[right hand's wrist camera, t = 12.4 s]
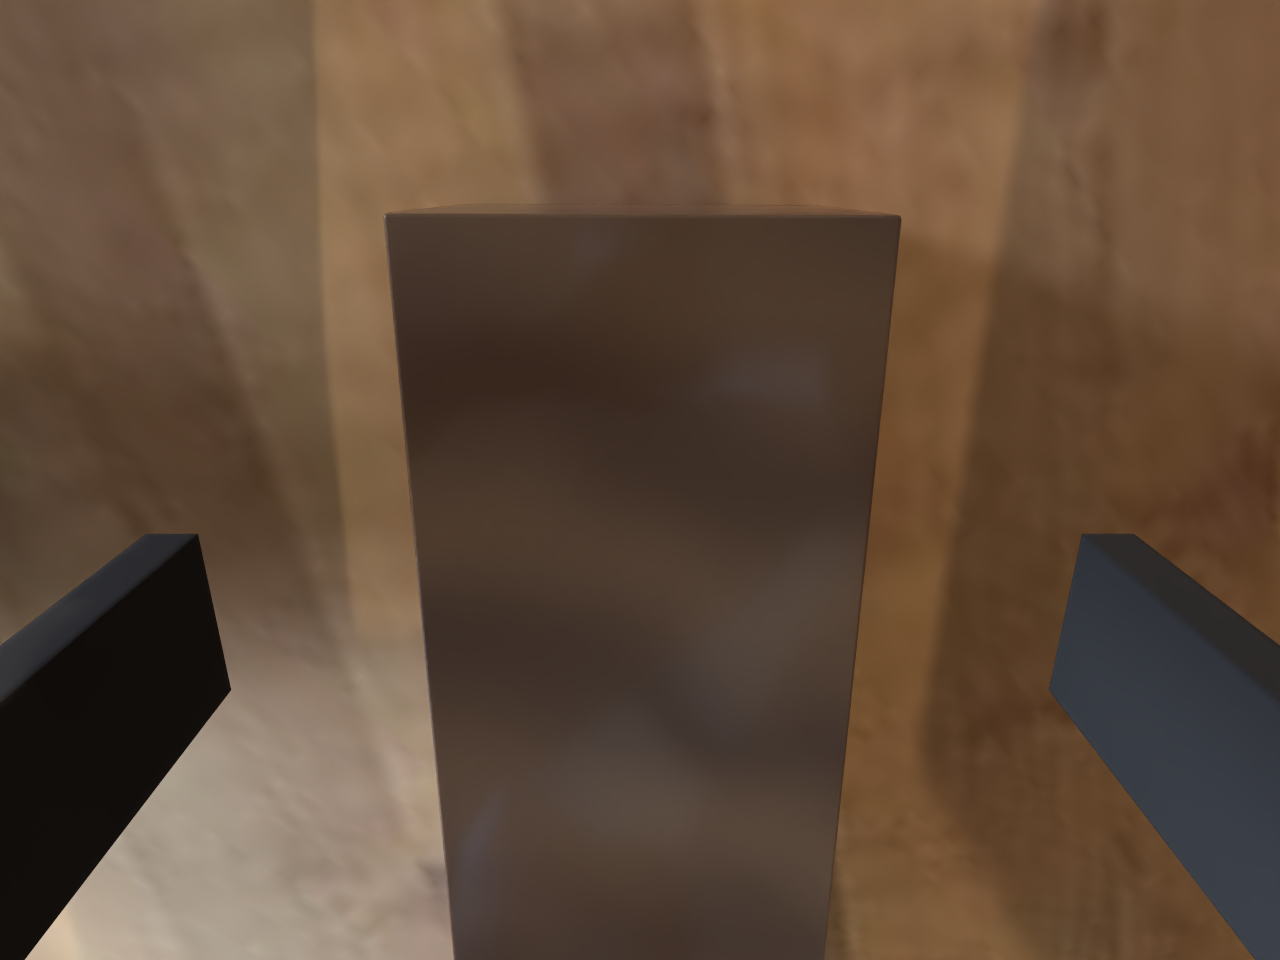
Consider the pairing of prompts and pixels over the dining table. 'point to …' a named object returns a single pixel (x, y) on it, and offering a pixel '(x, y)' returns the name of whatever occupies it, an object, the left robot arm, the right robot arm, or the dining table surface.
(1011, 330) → the dining table surface
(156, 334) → the dining table surface
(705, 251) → the thick board
